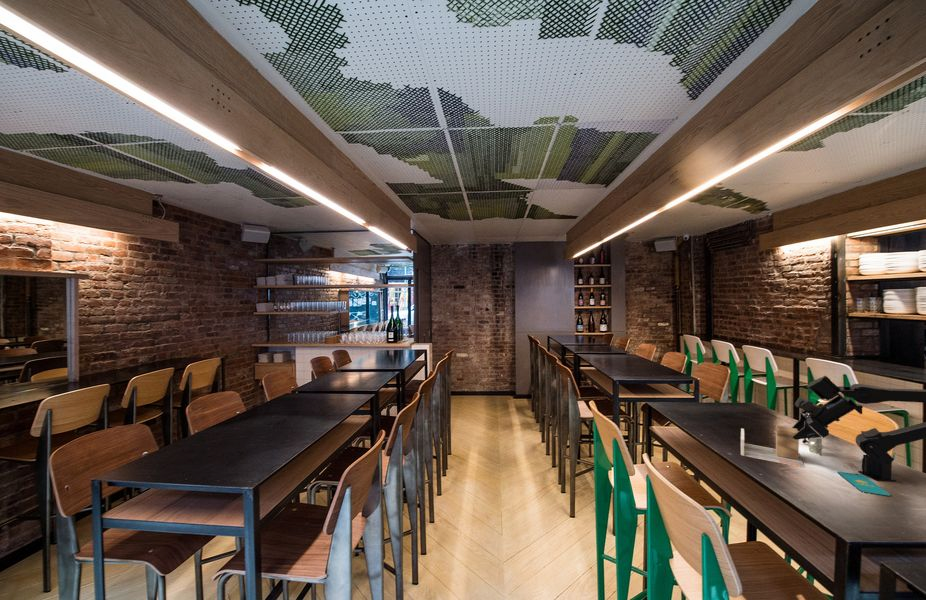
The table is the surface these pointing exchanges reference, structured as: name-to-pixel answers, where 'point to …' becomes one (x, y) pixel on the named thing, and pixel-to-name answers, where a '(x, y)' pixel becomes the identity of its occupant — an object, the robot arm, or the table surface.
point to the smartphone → (863, 484)
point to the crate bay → (768, 457)
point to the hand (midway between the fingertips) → (792, 434)
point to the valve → (814, 445)
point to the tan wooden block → (786, 443)
